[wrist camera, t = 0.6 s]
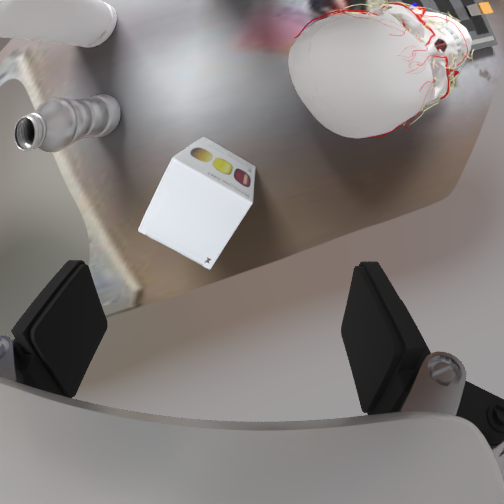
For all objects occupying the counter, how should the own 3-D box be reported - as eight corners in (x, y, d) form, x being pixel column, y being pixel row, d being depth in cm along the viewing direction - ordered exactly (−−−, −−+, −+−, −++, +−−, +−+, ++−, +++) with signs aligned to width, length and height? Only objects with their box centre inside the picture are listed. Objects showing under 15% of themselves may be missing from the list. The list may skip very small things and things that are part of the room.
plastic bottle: (91, 136, 41) (9, 168, 23) (89, 96, 37) (3, 108, 20) (126, 132, 41) (49, 162, 23) (125, 90, 37) (44, 95, 20)
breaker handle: (466, 6, 25) (478, 3, 22) (476, 4, 24) (488, 2, 21) (471, 16, 26) (483, 13, 23) (481, 14, 25) (493, 12, 22)
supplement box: (257, 166, 43) (258, 204, 29) (226, 215, 47) (213, 273, 33) (201, 134, 41) (170, 155, 26) (173, 186, 45) (134, 232, 30)
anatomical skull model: (513, 84, 21) (414, 172, 21) (423, 88, 38) (317, 158, 38) (458, -30, 15) (313, -7, 15) (377, 6, 32) (251, 57, 32)
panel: (380, -11, 28) (394, -21, 23) (457, -22, 24) (474, -28, 19) (421, 64, 34) (440, 63, 29) (491, 44, 29) (509, 44, 24)
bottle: (124, 4, 30) (4, -51, 5) (107, 49, 34) (-31, 32, 9) (83, 3, 29) (-40, -30, 4) (68, 46, 33) (-66, 43, 8)
